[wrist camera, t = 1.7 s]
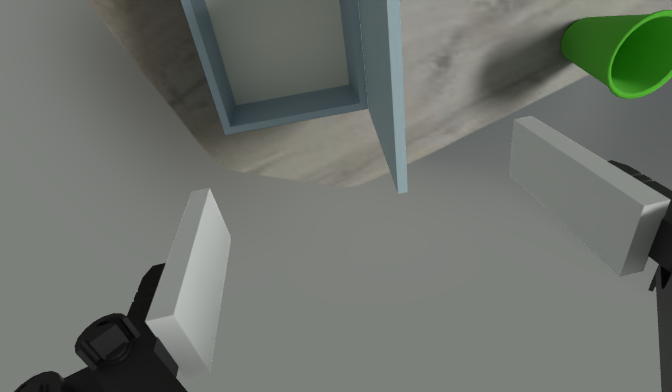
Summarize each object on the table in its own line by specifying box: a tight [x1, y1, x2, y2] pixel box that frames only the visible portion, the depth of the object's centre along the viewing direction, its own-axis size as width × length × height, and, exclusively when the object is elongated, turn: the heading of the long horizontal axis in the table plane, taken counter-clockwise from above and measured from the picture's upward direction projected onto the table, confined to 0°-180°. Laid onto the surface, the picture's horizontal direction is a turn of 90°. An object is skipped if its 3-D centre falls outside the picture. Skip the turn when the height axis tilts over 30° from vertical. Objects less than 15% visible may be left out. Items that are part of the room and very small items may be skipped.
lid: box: [358, 0, 408, 193], centre depth 29 cm, size 18×17×1 cm
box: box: [181, 0, 368, 135], centre depth 40 cm, size 18×16×8 cm
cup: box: [561, 10, 672, 99], centre depth 44 cm, size 9×9×11 cm
